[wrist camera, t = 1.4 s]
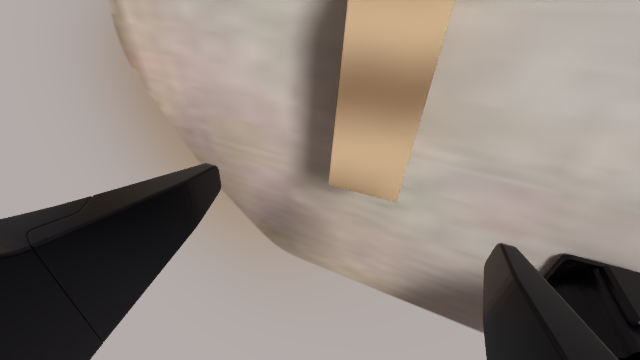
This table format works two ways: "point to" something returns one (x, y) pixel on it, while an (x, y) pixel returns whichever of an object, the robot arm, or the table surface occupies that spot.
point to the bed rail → (384, 90)
